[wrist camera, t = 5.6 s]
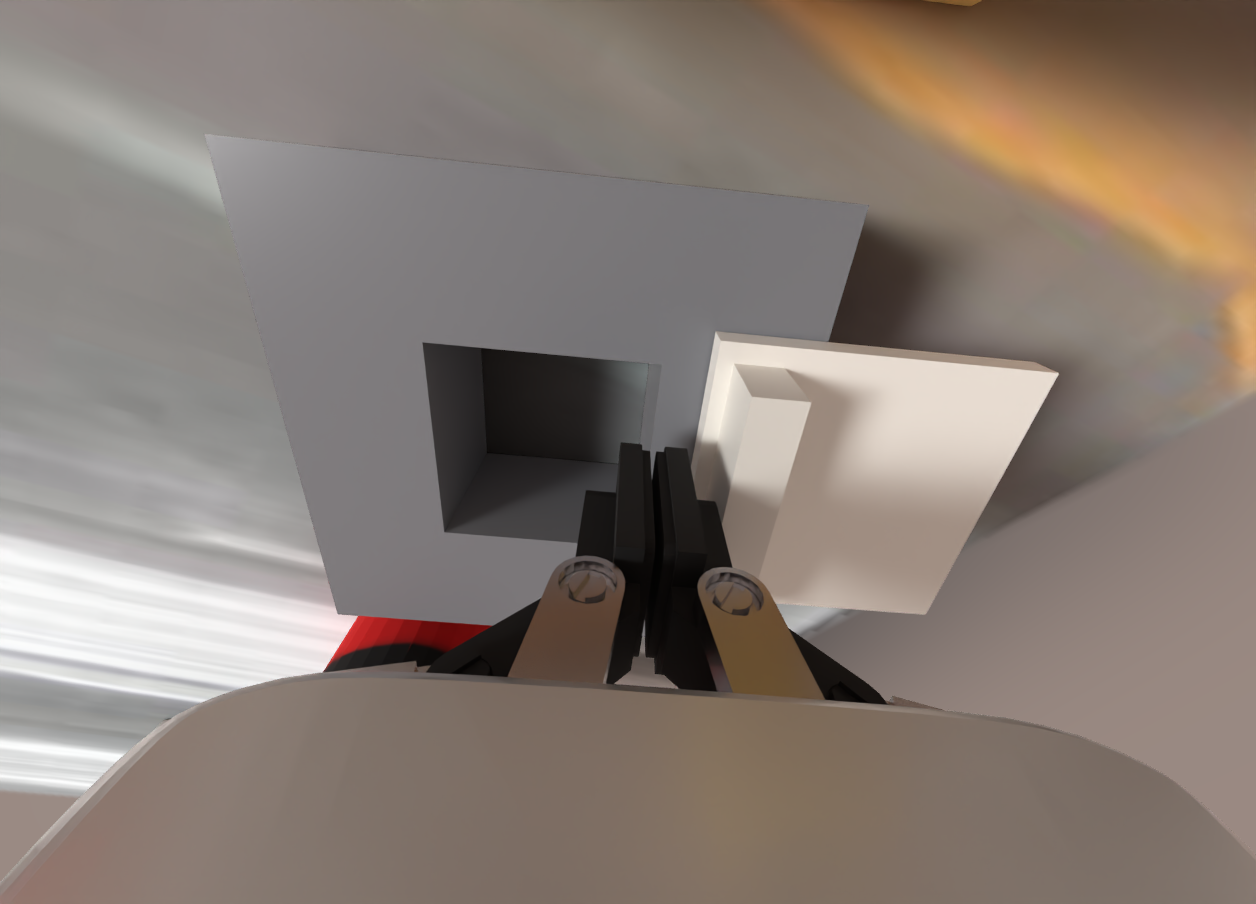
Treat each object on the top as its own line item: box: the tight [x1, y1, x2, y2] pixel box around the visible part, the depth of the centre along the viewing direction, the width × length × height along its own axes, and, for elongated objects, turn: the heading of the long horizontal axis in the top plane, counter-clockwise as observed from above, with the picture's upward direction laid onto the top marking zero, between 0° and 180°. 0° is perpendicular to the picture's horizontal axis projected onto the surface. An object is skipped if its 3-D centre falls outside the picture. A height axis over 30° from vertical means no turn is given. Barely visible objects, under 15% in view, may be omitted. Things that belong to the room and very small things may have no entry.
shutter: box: [691, 331, 1059, 615], centre depth 13 cm, size 8×8×3 cm
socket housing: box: [204, 134, 869, 637], centre depth 16 cm, size 14×14×5 cm
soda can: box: [323, 616, 491, 673], centre depth 19 cm, size 8×8×12 cm
